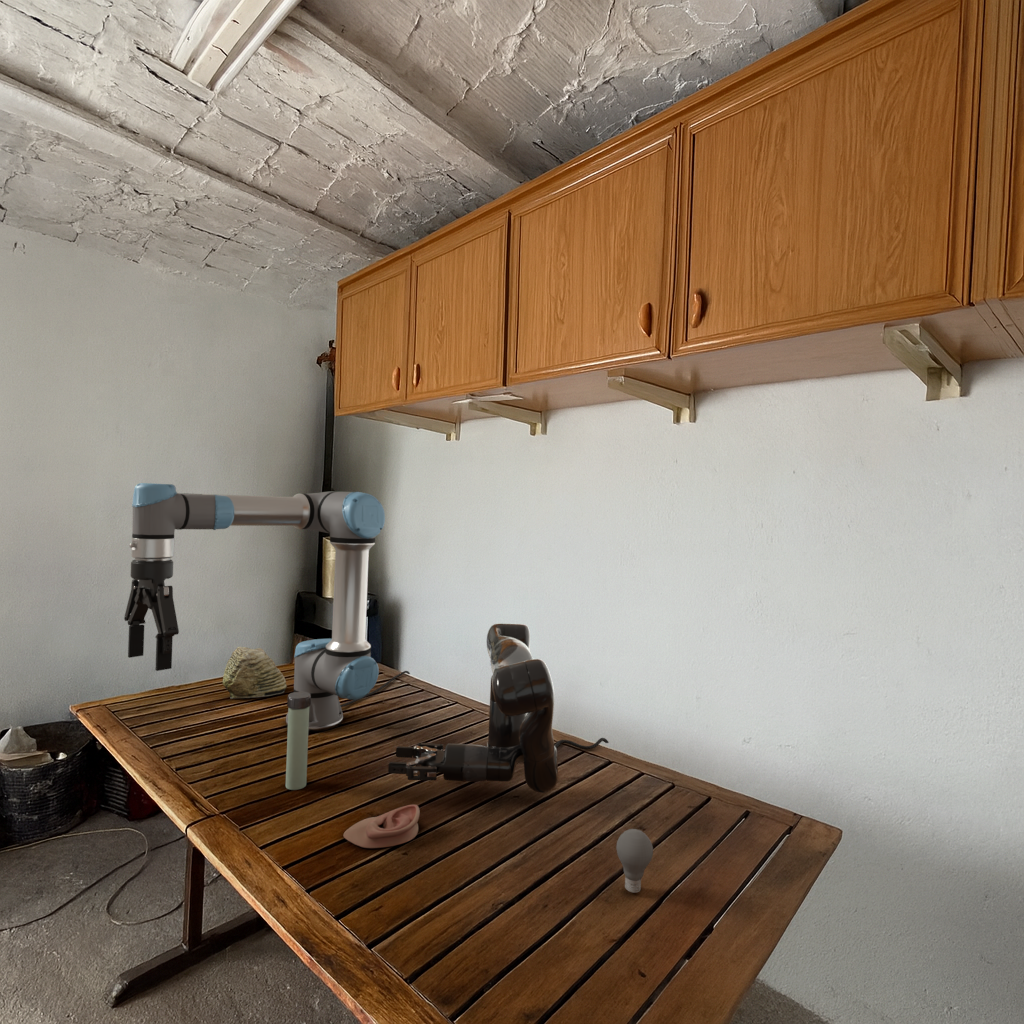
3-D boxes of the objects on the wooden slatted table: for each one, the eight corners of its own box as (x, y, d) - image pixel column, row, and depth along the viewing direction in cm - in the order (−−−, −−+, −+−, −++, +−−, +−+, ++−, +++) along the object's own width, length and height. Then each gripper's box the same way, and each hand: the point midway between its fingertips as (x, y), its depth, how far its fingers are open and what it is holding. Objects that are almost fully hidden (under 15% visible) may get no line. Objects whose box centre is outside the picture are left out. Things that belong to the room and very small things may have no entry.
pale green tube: (289, 780, 141) (293, 693, 140) (309, 781, 141) (312, 694, 140) (282, 789, 136) (285, 699, 136) (302, 790, 136) (305, 700, 136)
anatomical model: (336, 822, 116) (363, 794, 127) (335, 843, 116) (362, 813, 127) (404, 832, 113) (426, 803, 124) (403, 854, 113) (425, 823, 124)
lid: (292, 701, 141) (292, 691, 141) (313, 702, 141) (314, 692, 140) (283, 708, 136) (284, 697, 136) (306, 709, 136) (306, 698, 136)
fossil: (218, 695, 195) (220, 647, 195) (278, 685, 208) (279, 640, 207) (228, 703, 189) (230, 653, 188) (289, 692, 201) (290, 645, 201)
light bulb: (610, 879, 108) (613, 822, 108) (644, 879, 109) (647, 822, 109) (619, 902, 102) (622, 840, 102) (655, 901, 103) (658, 840, 103)
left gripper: (108, 554, 134) (105, 654, 134) (159, 566, 118) (155, 679, 119) (147, 552, 140) (143, 648, 140) (199, 563, 124) (196, 671, 124)
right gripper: (469, 733, 145) (398, 730, 145) (464, 758, 131) (386, 755, 131) (468, 766, 146) (397, 763, 146) (463, 794, 131) (385, 791, 131)
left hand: (149, 662), depth 129 cm, fingers open, 13 cm apart
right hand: (392, 759), depth 138 cm, fingers open, 8 cm apart
